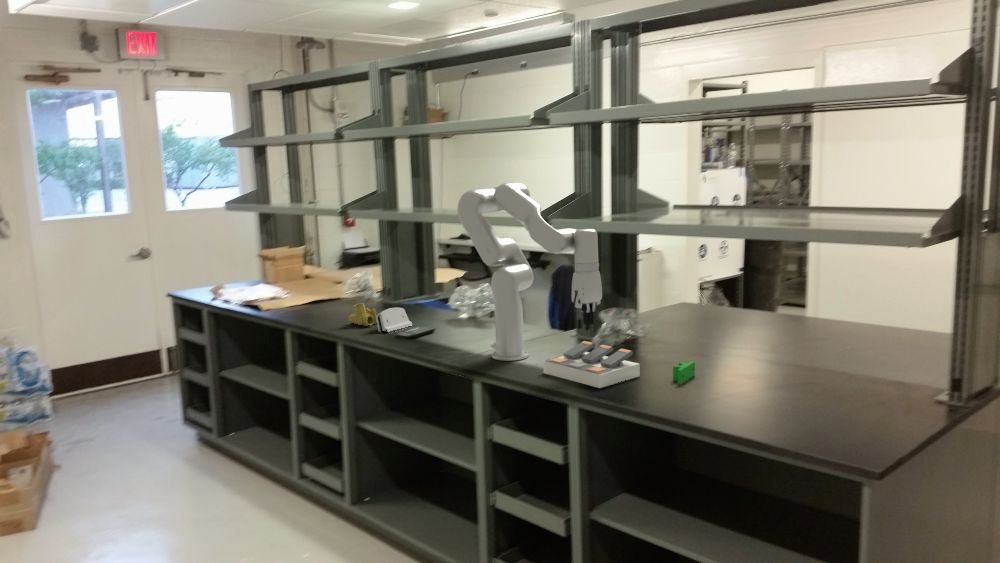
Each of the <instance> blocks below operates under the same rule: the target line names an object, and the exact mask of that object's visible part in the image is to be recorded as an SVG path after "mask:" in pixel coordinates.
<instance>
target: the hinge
mask: <svg viewBox="0 0 1000 563" xmlns="http://www.w3.org/2000/svg"><path fill="white" fill-rule="evenodd" d="M376 315H377V316H376V322H377V324H376V326H377V330H378V332H379V331H384V332H390V331H393V330H397V329H401V328H405V327H408V326H412V325H413V322H412V321H410V318H409V317H408V314H407V313H406V309H405V308H403V307H398V306H397V307H390V308H387V309H384V310H382V311H380V312H379V313H378V314H376ZM412 327H413V326H412ZM405 329H406V328H405ZM386 330H387V331H386Z"/></svg>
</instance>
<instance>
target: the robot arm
mask: <svg viewBox="0 0 1000 563" xmlns="http://www.w3.org/2000/svg"><path fill="white" fill-rule="evenodd" d="M530 194H531V193H530V191H529V188H528V187H527V186H526V185H525V184H524V183H520V182H505V183H501V184H500V185H498V186H497V187H496V186H495V187H488V188H475V189H470V190H467V191H465V192H464V193H463V194H462V195H461V196H460V198H459V200H458V204H457V216H458V219H459V222H460V223H461V225H462V227H463V229H464V230H465V232H466V233H467V235H468V236H469V238H470V239H471V242H472V244H473V246H474V249H476V251H477V253H478V254H479V256H480V259H481V260H482V262H483V263H484V264H485V265H486V266H487V267H498V266H501V267H499V268H497V269H496V270H495V271H494V272H493V274H492V276H491V290H492V294H493V301H494V317H495V318H494V322H495V324H494V325H495V341H494V342H493V343H491V344H490V347H491V348H492V349H494V351H493V352H492V353H491V358H492V359H494V360H496V361H504V362H505V361H506V362H507V361H510V362H511V361H520V360H525V359H527V358H528V357H529V352H528V351H526V350H524V347H525V346H524V320H523V319H524V317H523V315H524V314H523V302H522V298H521V295H520V292H521V291H525V290H526V289H529V288H530V287H531V286H532V284H533V282H534V279H535V277H534V272H533V270H532V267H531V265H530V264H529V262H528V260H527V258H526V256H525V255H524V253H523V251H522V250H521V247H520V246H519V244H518V243H517V242H516V241H515V240H514V239H512V238H511V237H508V236H502V237H499V236H498V235H497V233H496V231H495V230H494V228H493V226H492V224H491V223H490V222H489V221H488V220H487V219H486V217H484V216H483V214H488V213H489V214H490V213H497V212H501V211H505V212H506V213H507V214H509V215H510V216H511V217H512V218H514V219H515V220H516V221H518V222H519V223H520V224H521V225H523V226H524V228H525V231H526V233H527V234H528V236H529V237H530V238H531V239H532V240H533V241H534V242H535V243H536V244H538V245H539V246H540V247H541V248H543V249H544V250H546V251H547V252H549V253H551V254H555V255H558V254H562V253H567V252H572V251H574V252H573V254H574V272H573V275H572V280H571V302H572V303H574V308H576V309H580V311H581V313H582V319H583V321H582V324H583V325H589V326H591V325H594V324H595V318H594V317H595V315H594V313H595V311H596V308H597V306H599V305H601V300H602V298H603V288H602V278H601V273H600V271H599V267H600V263H599V247H598V246H599V245H598V244H599V243H598V242H599V240H598V231H597V230H596V229H594V228H580V229H576V228H568V227H567V228H560V229H559V228H558V229H556V228H554V227H553V226H552V225H550V224H549V223H547V221H545V220H544V218H543V217H542V216H541V213H542V206H541V205H540V204H539V203H538V202H537V201H535V200H534V199H532V198H531V195H530Z"/></svg>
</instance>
